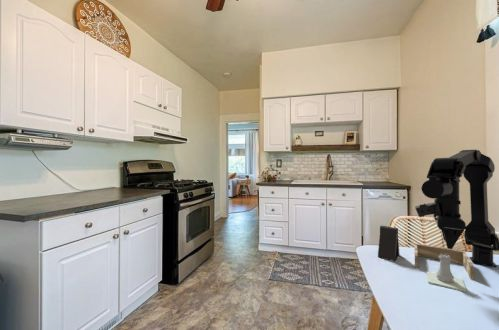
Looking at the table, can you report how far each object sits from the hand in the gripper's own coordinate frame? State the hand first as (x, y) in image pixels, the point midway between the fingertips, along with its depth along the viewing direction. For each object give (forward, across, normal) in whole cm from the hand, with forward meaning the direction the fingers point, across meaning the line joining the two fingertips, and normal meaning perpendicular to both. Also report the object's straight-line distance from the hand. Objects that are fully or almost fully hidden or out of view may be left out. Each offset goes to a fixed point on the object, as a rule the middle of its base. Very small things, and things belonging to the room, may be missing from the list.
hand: (447, 244), depth 74 cm
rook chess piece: (+12, +1, -1) cm, 12 cm away
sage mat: (+12, +1, -1) cm, 12 cm away
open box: (+12, -14, -1) cm, 18 cm away
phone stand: (+12, -13, -17) cm, 25 cm away
